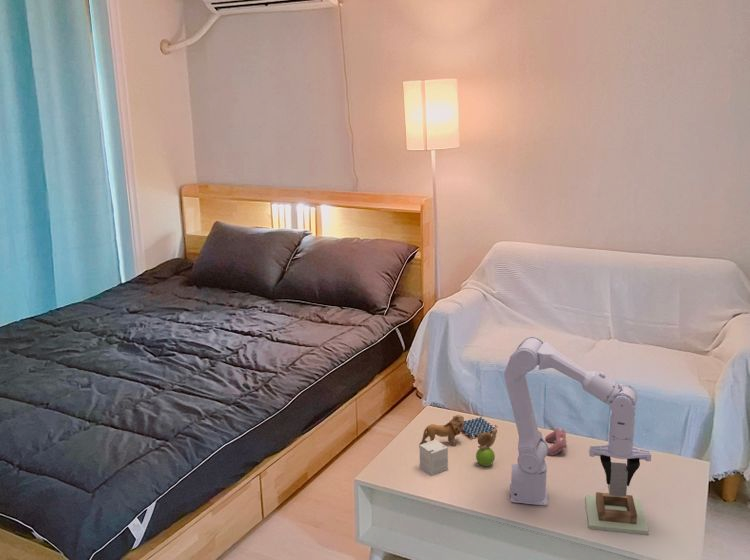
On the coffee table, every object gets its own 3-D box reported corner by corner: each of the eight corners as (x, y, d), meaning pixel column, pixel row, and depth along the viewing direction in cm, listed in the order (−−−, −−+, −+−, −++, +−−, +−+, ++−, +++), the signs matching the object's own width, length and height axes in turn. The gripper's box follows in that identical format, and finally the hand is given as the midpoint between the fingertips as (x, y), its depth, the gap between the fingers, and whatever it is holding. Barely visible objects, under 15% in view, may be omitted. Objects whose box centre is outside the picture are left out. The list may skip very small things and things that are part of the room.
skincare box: (435, 461, 209) (435, 438, 208) (448, 469, 205) (448, 447, 203) (419, 467, 206) (418, 444, 204) (431, 476, 201) (431, 453, 199)
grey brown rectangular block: (609, 494, 178) (611, 470, 176) (607, 486, 182) (609, 462, 180) (626, 496, 177) (628, 471, 175) (624, 487, 181) (626, 463, 179)
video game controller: (558, 461, 210) (570, 443, 208) (545, 454, 211) (556, 436, 208) (556, 445, 220) (568, 428, 218) (543, 438, 220) (554, 421, 218)
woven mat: (452, 428, 230) (452, 422, 230) (480, 421, 235) (480, 415, 234) (469, 441, 221) (469, 436, 221) (498, 434, 225) (498, 429, 225)
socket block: (588, 528, 176) (589, 516, 175) (585, 497, 189) (585, 486, 188) (648, 534, 173) (649, 522, 172) (640, 502, 186) (641, 491, 185)
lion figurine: (461, 437, 223) (461, 411, 221) (467, 444, 218) (467, 418, 216) (416, 443, 220) (416, 416, 218) (421, 451, 215) (421, 424, 213)
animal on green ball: (501, 466, 206) (502, 429, 202) (481, 471, 203) (482, 433, 200) (491, 457, 211) (492, 421, 207) (472, 462, 208) (473, 425, 205)
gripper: (649, 429, 177) (645, 477, 181) (589, 424, 180) (586, 472, 184) (654, 442, 170) (649, 492, 174) (591, 437, 174) (588, 486, 177)
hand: (617, 482), depth 178 cm, fingers closed on grey brown rectangular block, 4 cm apart
